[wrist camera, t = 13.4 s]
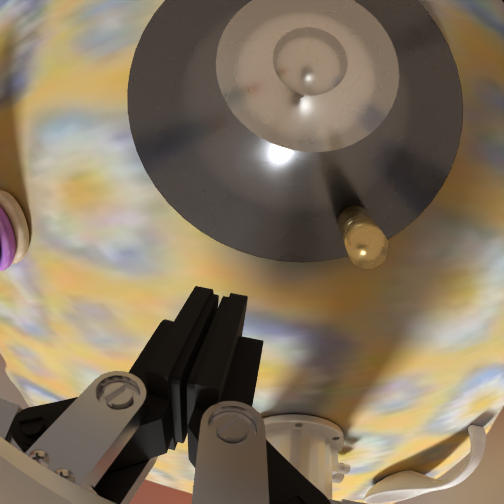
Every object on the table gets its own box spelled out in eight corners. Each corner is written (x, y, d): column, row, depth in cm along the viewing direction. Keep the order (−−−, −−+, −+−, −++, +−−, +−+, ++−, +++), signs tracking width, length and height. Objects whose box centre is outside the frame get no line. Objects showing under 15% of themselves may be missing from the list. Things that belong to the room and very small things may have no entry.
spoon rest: (394, 490, 40) (396, 520, 33) (349, 487, 39) (350, 521, 32) (492, 426, 30) (504, 460, 23) (457, 418, 29) (470, 460, 22)
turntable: (362, -68, 10) (379, -110, 5) (482, 191, 16) (528, 217, 11) (98, 48, 15) (46, 37, 10) (224, 290, 22) (205, 340, 17)
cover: (332, -8, 12) (343, -41, 8) (401, 113, 14) (434, 113, 10) (205, 50, 14) (179, 31, 10) (275, 169, 16) (269, 186, 13)
